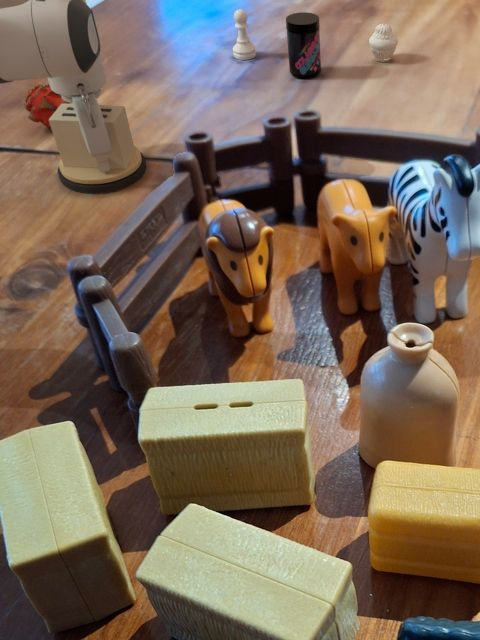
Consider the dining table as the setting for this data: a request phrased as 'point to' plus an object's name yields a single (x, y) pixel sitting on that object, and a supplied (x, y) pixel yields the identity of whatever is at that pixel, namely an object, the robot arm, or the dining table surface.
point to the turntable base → (105, 186)
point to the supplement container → (303, 45)
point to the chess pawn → (243, 38)
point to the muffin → (383, 42)
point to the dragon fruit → (42, 104)
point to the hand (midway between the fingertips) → (99, 157)
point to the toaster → (75, 152)
